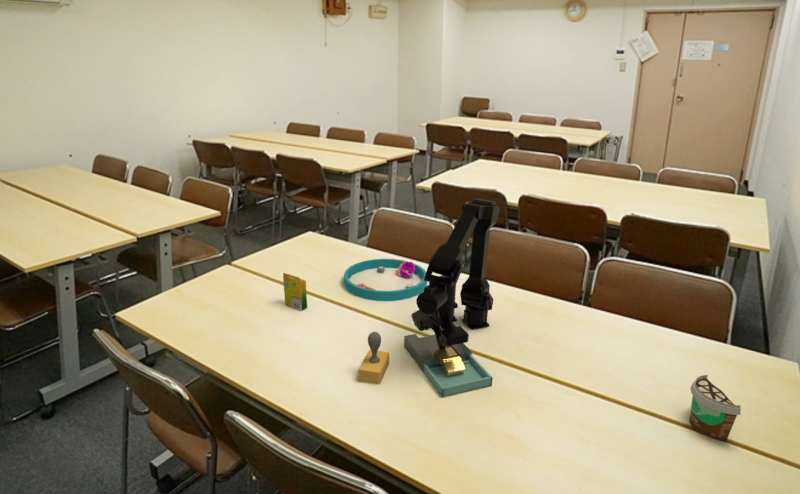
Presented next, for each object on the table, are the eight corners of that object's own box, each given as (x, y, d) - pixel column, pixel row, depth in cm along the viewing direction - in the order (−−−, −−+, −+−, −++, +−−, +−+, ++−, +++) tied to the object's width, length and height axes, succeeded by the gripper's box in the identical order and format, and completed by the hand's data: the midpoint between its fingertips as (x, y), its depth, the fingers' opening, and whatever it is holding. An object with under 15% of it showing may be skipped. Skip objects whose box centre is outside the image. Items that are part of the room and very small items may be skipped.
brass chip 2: (457, 360, 140) (459, 356, 139) (463, 373, 138) (465, 368, 136) (440, 364, 139) (442, 359, 137) (446, 376, 136) (448, 372, 135)
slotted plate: (447, 338, 155) (448, 327, 154) (470, 363, 143) (471, 351, 142) (403, 346, 150) (404, 335, 149) (423, 373, 138) (424, 361, 137)
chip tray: (470, 363, 143) (471, 355, 142) (491, 385, 134) (492, 377, 133) (423, 373, 138) (424, 365, 137) (442, 397, 129) (442, 389, 128)
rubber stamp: (380, 385, 133) (380, 343, 129) (358, 381, 134) (357, 340, 130) (389, 363, 142) (390, 324, 138) (369, 360, 144) (368, 321, 139)
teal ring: (443, 284, 192) (444, 269, 190) (385, 311, 172) (385, 295, 169) (385, 261, 211) (385, 248, 209) (327, 283, 191) (326, 268, 189)
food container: (672, 409, 126) (681, 374, 122) (696, 408, 126) (706, 373, 123) (704, 446, 114) (714, 408, 111) (731, 444, 115) (742, 406, 111)
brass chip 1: (450, 353, 144) (450, 347, 143) (457, 361, 140) (457, 354, 139) (433, 356, 142) (434, 350, 141) (439, 364, 138) (440, 358, 138)
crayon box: (307, 307, 172) (306, 275, 168) (301, 311, 169) (299, 278, 165) (291, 302, 175) (288, 269, 171) (284, 305, 173) (282, 272, 169)
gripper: (402, 288, 143) (401, 338, 148) (430, 319, 127) (428, 374, 132) (439, 282, 147) (437, 331, 152) (471, 312, 130) (467, 366, 136)
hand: (441, 350), depth 143 cm, fingers closed
